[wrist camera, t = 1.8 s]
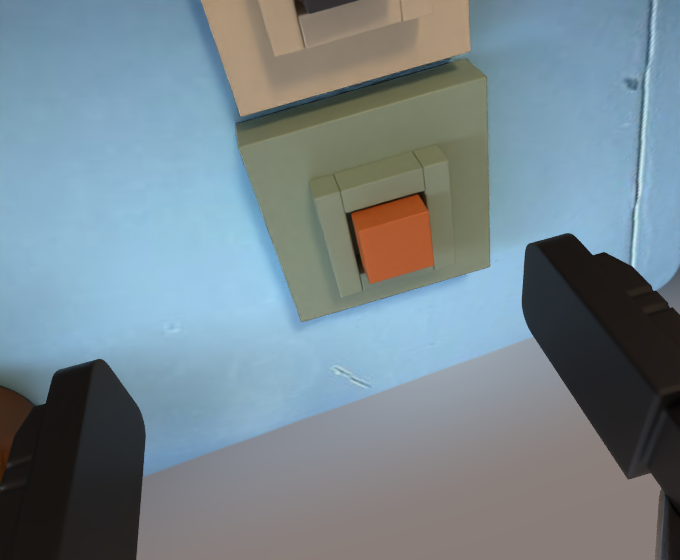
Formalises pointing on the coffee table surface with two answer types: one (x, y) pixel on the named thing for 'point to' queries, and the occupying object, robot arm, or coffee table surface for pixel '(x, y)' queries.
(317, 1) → the key
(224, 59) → the beige push button
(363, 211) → the key
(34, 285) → the coffee table surface
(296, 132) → the green stepped square block
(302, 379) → the coffee table surface
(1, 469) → the mug
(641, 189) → the coffee table surface
